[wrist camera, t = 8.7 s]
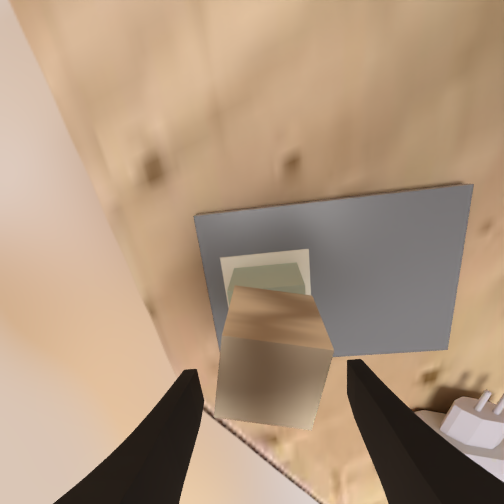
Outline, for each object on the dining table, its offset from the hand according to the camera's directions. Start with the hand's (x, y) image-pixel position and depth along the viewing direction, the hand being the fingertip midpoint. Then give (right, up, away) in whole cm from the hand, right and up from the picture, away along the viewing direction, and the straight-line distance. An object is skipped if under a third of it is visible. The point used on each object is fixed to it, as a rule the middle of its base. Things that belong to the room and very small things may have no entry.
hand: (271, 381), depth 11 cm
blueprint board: (+5, +4, +9) cm, 11 cm away
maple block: (0, +1, +5) cm, 5 cm away
